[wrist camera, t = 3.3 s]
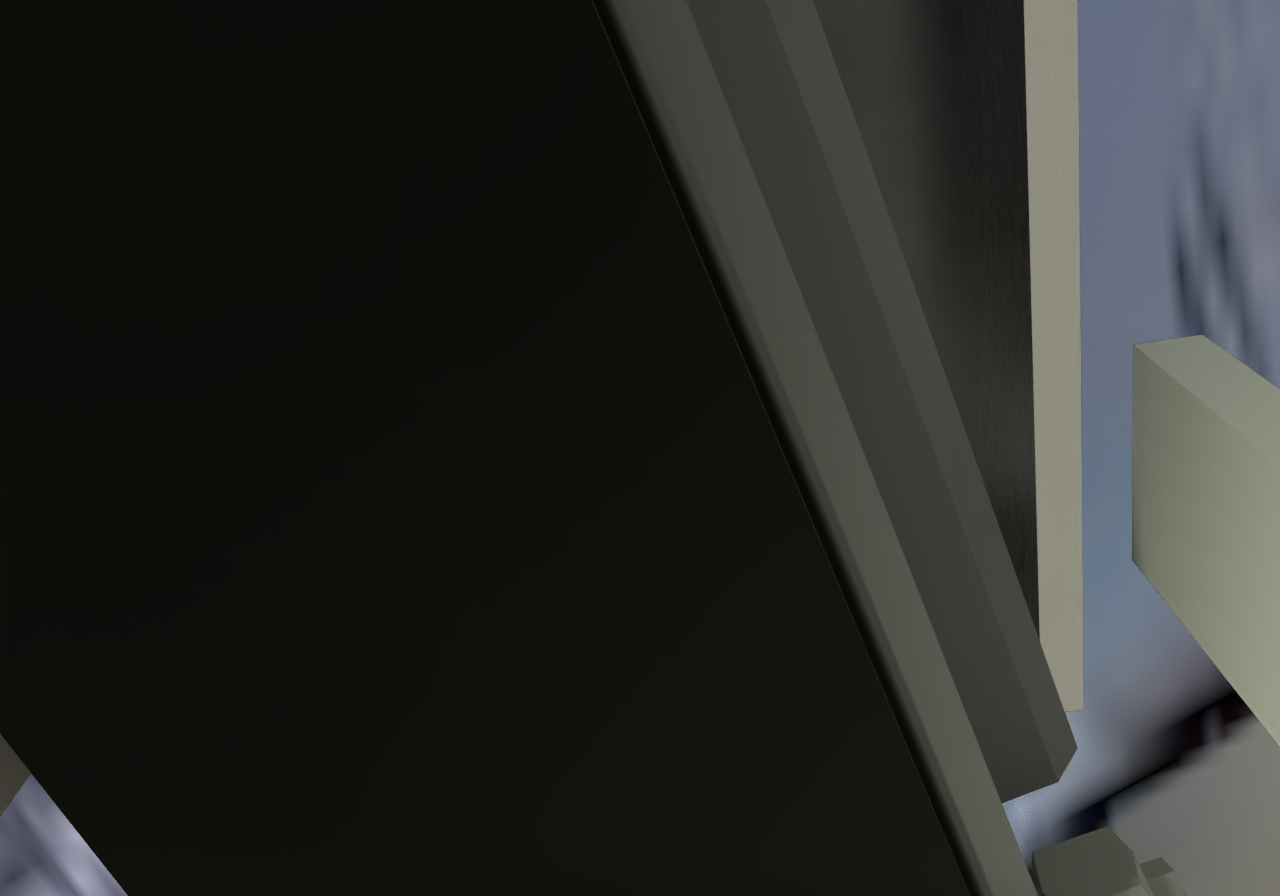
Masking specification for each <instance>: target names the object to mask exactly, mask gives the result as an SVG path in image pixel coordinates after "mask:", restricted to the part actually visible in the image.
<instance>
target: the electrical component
mask: <svg viewBox="0 0 1280 896" xmlns="http://www.w3.org/2000/svg"><path fill="white" fill-rule="evenodd" d="M0 734H1V735H2V737H3V738H4V739H5V741H6V742H7V743H8V744H9V746H10V747H11V748H12V749H13V751H14V752H15V753H16V754H17V756H18V757H19V758H20V760H21V761H22V762H23V763H24V765H25V766H26V767H27V768H28V770H29V771H30V772H31V773H32V775H33V776H34V777H35V779H36V780H37V781H38V782H39V784H40V785H41V786H42V787H43V789H44V790H45V791H46V792H47V794H48V795H49V796H50V798H51V799H52V800H53V801H54V803H55V804H56V805H57V806H58V808H59V809H60V810H61V811H62V813H63V814H64V815H65V816H66V818H67V819H68V820H69V822H70V823H71V824H72V825H73V827H74V828H75V829H76V830H77V832H78V833H79V834H80V835H81V837H82V838H83V839H84V841H85V842H86V843H87V844H88V846H89V847H90V848H91V849H92V851H93V852H94V853H95V854H96V856H97V857H98V858H99V860H100V861H101V862H102V863H103V865H104V866H105V867H106V868H107V870H108V871H109V872H110V873H111V875H112V876H113V877H114V879H115V880H116V881H117V882H118V884H119V885H120V886H121V887H122V889H123V890H124V891H125V892H126V894H127V895H128V896H1186V893H1185V891H1184V890H1183V887H1182V885H1181V883H1180V881H1179V879H1178V877H1177V875H1176V873H1175V871H1174V870H1173V869H1172V868H1171V867H1170V866H1169V865H1168V864H1167V863H1166V862H1165V860H1164V859H1162V857H1160V858H1157V859H1154V860H1151V861H1148V862H1145V863H1142V864H1138V862H1137V860H1136V858H1135V856H1134V854H1133V852H1132V851H1131V850H1130V849H1129V848H1128V847H1127V846H1126V845H1125V843H1123V841H1122V840H1121V839H1120V838H1119V837H1118V836H1117V835H1116V834H1115V833H1114V832H1113V831H1112V830H1111V829H1110V828H1109V827H1105V828H1102V829H1099V830H1096V831H1093V832H1090V833H1087V834H1084V835H1081V836H1078V837H1075V838H1072V839H1069V840H1066V841H1063V842H1060V843H1057V844H1054V845H1051V846H1048V847H1045V848H1042V849H1039V850H1036V851H1033V855H1032V869H1030V870H1028V869H1027V867H1026V864H1025V862H1024V859H1023V857H1022V854H1021V852H1020V849H1019V846H1018V844H1017V841H1016V839H1015V836H1014V834H1013V831H1012V829H1011V826H1010V824H1009V821H1008V818H1007V816H1006V813H1005V811H1004V808H1003V806H1002V803H1004V802H1006V801H1009V800H1012V799H1014V798H1017V797H1020V796H1022V795H1025V794H1027V793H1030V792H1033V791H1035V790H1038V789H1041V788H1043V787H1046V786H1049V785H1051V784H1054V783H1056V782H1058V781H1059V779H1060V778H1061V776H1062V774H1063V772H1064V771H1065V769H1066V767H1067V765H1068V764H1069V762H1070V760H1071V758H1072V757H1073V755H1074V753H1075V751H1076V750H1077V745H1076V742H1075V740H1074V737H1073V734H1072V731H1071V728H1070V725H1069V723H1068V720H1067V717H1066V714H1065V711H1064V708H1063V706H1062V703H1061V700H1060V697H1059V694H1058V691H1057V689H1056V686H1055V683H1054V680H1053V677H1052V675H1051V672H1050V669H1049V666H1048V663H1047V660H1046V658H1045V655H1044V652H1043V649H1042V646H1041V643H1040V641H1039V638H1038V635H1037V632H1036V629H1035V626H1034V624H1033V621H1032V618H1031V615H1030V612H1029V610H1028V607H1027V604H1026V601H1025V598H1024V595H1023V593H1022V590H1021V587H1020V584H1019V581H1018V578H1017V576H1016V573H1015V570H1014V567H1013V564H1012V561H1011V559H1010V556H1009V553H1008V550H1007V547H1006V544H1005V542H1004V539H1003V536H1002V533H1001V530H1000V528H999V525H998V522H997V519H996V516H995V513H994V511H993V508H992V505H991V502H990V499H989V496H988V494H987V491H986V488H985V485H984V482H983V479H982V477H981V474H980V471H979V468H978V465H977V463H976V460H975V457H974V454H973V451H972V448H971V446H970V443H969V440H968V437H967V434H966V431H965V429H964V426H963V423H962V420H961V417H960V414H959V412H958V409H957V406H956V403H955V400H954V398H953V395H952V392H951V389H950V386H949V383H948V381H947V378H946V375H945V372H944V369H943V366H942V364H941V361H940V358H939V355H938V352H937V349H936V347H935V344H934V341H933V338H932V335H931V333H930V330H929V327H928V324H927V321H926V318H925V316H924V313H923V310H922V307H921V304H920V301H919V299H918V296H917V293H916V290H915V287H914V284H913V282H912V279H911V276H910V273H909V270H908V268H907V265H906V262H905V259H904V256H903V253H902V251H901V248H900V245H899V242H898V239H897V236H896V234H895V231H894V228H893V225H892V222H891V219H890V217H889V214H888V211H887V208H886V205H885V203H884V200H883V197H882V194H881V191H880V188H879V186H878V183H877V180H876V177H875V174H874V171H873V169H872V166H871V163H870V160H869V157H868V154H867V152H866V149H865V146H864V143H863V140H862V137H861V135H860V132H859V129H858V126H857V123H856V121H855V118H854V115H853V112H852V109H851V106H850V104H849V101H848V98H847V95H846V92H845V89H844V87H843V84H842V81H841V78H840V75H839V72H838V70H837V67H836V64H835V61H834V58H833V56H832V53H831V50H830V47H829V44H828V41H827V39H826V36H825V33H824V30H823V27H822V24H821V22H820V19H819V16H818V13H817V10H816V7H815V5H814V2H813V0H0Z"/></svg>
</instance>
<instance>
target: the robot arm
mask: <svg viewBox="0 0 1280 896" xmlns="http://www.w3.org/2000/svg"><path fill="white" fill-rule="evenodd" d="M1132 560H1133V562H1134V563H1135V564H1136V565H1137V567H1138V568H1139V569H1140V571H1141V572H1142V573H1143V574H1144V576H1145V577H1146V578H1147V579H1148V581H1149V582H1150V583H1151V584H1152V586H1153V587H1154V588H1155V589H1156V591H1157V592H1158V593H1159V595H1160V596H1161V597H1162V598H1163V600H1164V601H1165V602H1166V603H1167V605H1168V606H1169V607H1170V608H1171V610H1172V611H1173V612H1174V613H1175V615H1176V616H1177V617H1178V619H1179V620H1180V621H1181V622H1182V624H1183V625H1184V626H1185V627H1186V629H1187V630H1188V631H1189V632H1190V634H1191V635H1192V636H1193V637H1194V639H1195V640H1196V641H1197V643H1198V644H1199V645H1200V646H1201V648H1202V649H1203V650H1204V651H1205V653H1206V654H1207V655H1208V656H1209V658H1210V659H1211V660H1212V661H1213V663H1214V664H1215V665H1216V667H1217V668H1218V669H1219V670H1220V672H1221V673H1222V674H1223V675H1224V677H1225V678H1226V679H1227V680H1228V682H1229V683H1230V684H1231V685H1232V687H1233V688H1234V689H1235V690H1236V692H1237V693H1238V694H1239V696H1240V697H1241V698H1242V699H1243V701H1244V702H1245V703H1246V704H1247V706H1248V707H1249V708H1250V709H1251V711H1252V712H1253V713H1254V714H1255V716H1256V717H1257V718H1258V720H1259V721H1260V722H1261V723H1262V725H1263V726H1264V727H1265V728H1266V730H1267V731H1268V732H1269V733H1270V735H1271V736H1272V737H1273V738H1274V740H1275V741H1276V742H1277V744H1278V745H1279V746H1280V389H1279V388H1277V387H1276V386H1275V385H1273V384H1272V383H1270V382H1269V381H1267V380H1266V379H1265V378H1263V377H1262V376H1260V375H1259V374H1258V373H1256V372H1255V371H1253V370H1252V369H1250V368H1249V367H1248V366H1246V365H1245V364H1243V363H1242V362H1241V361H1239V360H1238V359H1236V358H1235V357H1234V356H1232V355H1231V354H1229V353H1228V352H1226V351H1225V350H1224V349H1222V348H1221V347H1219V346H1218V345H1217V344H1215V343H1214V342H1212V341H1211V340H1209V339H1208V338H1207V337H1205V336H1204V335H1196V336H1189V337H1182V338H1175V339H1168V340H1161V341H1154V342H1147V343H1140V344H1133V482H1132ZM30 774H31V772H30V771H29V770H28V768H27V767H26V766H25V765H24V763H23V762H22V761H21V760H20V758H19V757H18V756H17V754H16V753H15V752H14V751H13V749H12V748H11V747H10V746H9V744H8V743H7V742H6V741H5V739H4V738H3V737H2V735H1V734H0V816H1V815H2V813H3V812H4V810H5V809H6V808H7V806H8V805H9V803H10V802H11V801H12V799H13V798H14V797H15V795H16V794H17V792H18V791H19V790H20V788H21V787H22V785H23V784H24V783H25V781H26V780H27V778H28V777H29V776H30Z"/></svg>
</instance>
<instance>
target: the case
mask: <svg viewBox="0 0 1280 896" xmlns="http://www.w3.org/2000/svg"><path fill="white" fill-rule="evenodd" d="M813 2H814V5H815V7H816V10H817V13H818V16H819V19H820V22H821V24H822V27H823V30H824V33H825V36H826V39H827V41H828V44H829V47H830V50H831V53H832V56H833V58H834V61H835V64H836V67H837V70H838V72H839V75H840V78H841V81H842V84H843V87H844V89H845V92H846V95H847V98H848V101H849V104H850V106H851V109H852V112H853V115H854V118H855V121H856V123H857V126H858V129H859V132H860V135H861V137H862V140H863V143H864V146H865V149H866V152H867V154H868V157H869V160H870V163H871V166H872V169H873V171H874V174H875V177H876V180H877V183H878V186H879V188H880V191H881V194H882V197H883V200H884V203H885V205H886V208H887V211H888V214H889V217H890V219H891V222H892V225H893V228H894V231H895V234H896V236H897V239H898V242H899V245H900V248H901V251H902V253H903V256H904V259H905V262H906V265H907V268H908V270H909V273H910V276H911V279H912V282H913V284H914V287H915V290H916V293H917V296H918V299H919V301H920V304H921V307H922V310H923V313H924V316H925V318H926V321H927V324H928V327H929V330H930V333H931V335H932V338H933V341H934V344H935V347H936V349H937V352H938V355H939V358H940V361H941V364H942V366H943V369H944V372H945V375H946V378H947V381H948V383H949V386H950V389H951V392H952V395H953V398H954V400H955V403H956V406H957V409H958V412H959V414H960V417H961V420H962V423H963V426H964V429H965V431H966V434H967V437H968V440H969V443H970V446H971V448H972V451H973V454H974V457H975V460H976V463H977V465H978V468H979V471H980V474H981V477H982V479H983V482H984V485H985V488H986V491H987V494H988V496H989V499H990V502H991V505H992V508H993V511H994V513H995V516H996V519H997V522H998V525H999V528H1000V530H1001V533H1002V536H1003V539H1004V542H1005V544H1006V547H1007V550H1008V553H1009V556H1010V559H1011V561H1012V564H1013V567H1014V570H1015V573H1016V576H1017V578H1018V581H1019V584H1020V587H1021V590H1022V593H1023V595H1024V598H1025V601H1026V604H1027V607H1028V610H1029V612H1030V615H1031V618H1032V621H1033V624H1034V626H1035V629H1036V632H1037V635H1038V638H1039V641H1040V643H1041V646H1042V649H1043V652H1044V655H1045V658H1046V660H1047V663H1048V666H1049V669H1050V672H1051V675H1052V677H1053V680H1054V683H1055V686H1056V689H1057V691H1058V694H1059V697H1060V700H1061V703H1062V706H1063V708H1064V711H1065V712H1068V711H1076V710H1083V709H1084V681H1083V565H1082V449H1081V333H1080V217H1079V101H1078V0H813Z"/></svg>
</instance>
